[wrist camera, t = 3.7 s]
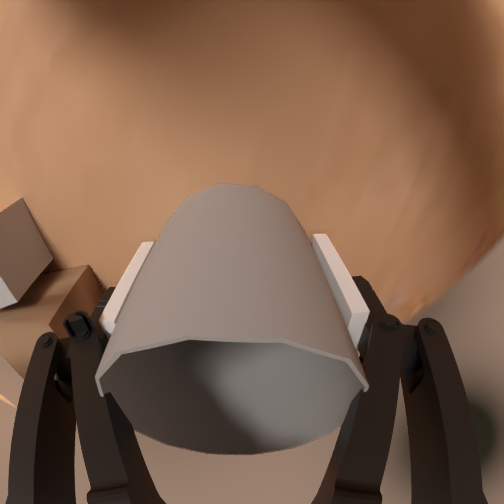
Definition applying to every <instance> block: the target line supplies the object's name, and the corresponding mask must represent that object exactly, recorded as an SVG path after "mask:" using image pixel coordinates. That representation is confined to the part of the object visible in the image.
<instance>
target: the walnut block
mask: <svg viewBox="0 0 504 504" xmlns="http://www.w3.org/2000/svg"><path fill="white" fill-rule="evenodd" d="M102 295H103V291H102V289H101V287H100V285H99V284H98V282H97V280H96V278H95V276H94V274H93V272H92V270H91V268H90V266H89V265H84V266H80V267H75V268H70V269H66V270H61V271H57V272H52V273H48V274H43V275H39V276H38V277H37V278H36V279H35V281H34V282H33V283H32V284H31V286H30V287H29V288H28V289H27V291H26V292H25V293H24V294H23V296H22V297H21V298H20V300H19V301H18V302H17V303H14V304H11V305H8V306H6V307H3V308H0V353H1V354H2V355H3V357H4V358H5V359H6V360H7V361H8V362H9V364H11V366H12V367H13V368H14V369H15V370H16V371H17V372H18V373H19V375H20V376H21V377H22V378H23V379H25V375H26V372H27V368H28V365H29V362H30V359H31V356H32V353H33V350H34V347H35V344H36V342H37V340H38V338H39V337H40V336H41V335H42V334H44V333H46V332H54V333H55V334H56V335H57V336H58V338H59V339H62V338H67V337H70V336H69V335H68V333H67V331H66V329H65V328H64V326H63V322H64V319H65V318H66V317H67V316H68V315H69V314H70V313H72V312H75V311H79V310H82V311H85V312H87V313H88V315H89V317H90V316H91V314H92V312H93V311H94V309H95V307H96V305H97V303H98V302H99V301H100V298H101V296H102ZM55 378H56V375H55ZM55 378H54V380H55Z"/></svg>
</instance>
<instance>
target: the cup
mask: <svg viewBox="0 0 504 504" xmlns="http://www.w3.org/2000/svg"><path fill="white" fill-rule="evenodd" d="M95 380H96V383H97V387H98V390H99V393H100V396H102V397H104V395H105V393H109V392H111V394H112V395H113V397H114V399H115V400H116V402H117V403H118V405H119V406H120V408H121V409H122V411H123V412H124V414H125V415H126V417H127V418H128V420H129V421H130V422H131V424H132V427H133V430H135V431H137V432H139V433H141V434H143V435H145V436H148V437H149V438H152V439H154V440H156V441H159V442H161V443H163V444H165V445H169V446H173V447H177V448H181V449H186V450H190V451H195V452H200V453H205V454H219V455H255V454H263V453H269V452H275V451H280V450H286V449H291V448H295V447H298V446H301V445H303V444H306V443H309V442H311V441H314V440H316V439H319V438H321V437H323V436H326V435H328V434H331V433H332V432H333V431H335V430H336V429H337V428H339V427H340V426H341V425H342V423H343V421H344V419H345V416H346V414H347V412H348V409H349V407H350V404H351V401H352V400H353V399H354V397H355V396H356V395H357V394H358V392H359V391H360V390H361V388H362V389H363V392H366V391H367V390H368V388H369V384H368V381H367V379H366V376H365V373H364V370H363V368H362V365H361V362H360V360H359V357H358V354H357V352H356V349H355V347H354V344H353V342H352V339H351V336H350V334H349V331H348V329H347V326H346V324H345V322H344V319H343V317H342V314H341V312H340V309H339V307H338V305H337V302H336V300H335V298H334V295H333V293H332V291H331V288H330V286H329V284H328V281H327V279H326V277H325V274H324V272H323V270H322V268H321V266H320V263H319V261H318V259H317V257H316V255H315V252H314V250H313V248H312V246H311V244H310V242H309V239H308V237H307V235H306V233H305V231H304V229H303V227H302V226H301V224H300V223H299V221H298V219H297V218H296V216H295V215H294V213H293V212H292V210H291V209H290V207H289V205H288V204H287V203H286V202H285V201H283V200H281V199H279V198H278V197H276V196H274V195H272V194H271V193H269V192H267V191H265V190H263V189H262V188H260V187H258V186H255V185H239V184H220V183H219V184H217V185H215V186H212V187H210V188H207V189H205V190H203V191H200V192H198V193H195V194H193V195H191V196H189V197H187V198H186V199H185V200H184V201H183V202H182V204H181V205H180V206H179V207H178V209H177V210H176V211H175V212H174V213H173V215H172V216H171V217H170V218H169V220H168V221H167V222H166V224H165V226H164V228H163V230H162V231H161V233H160V235H159V237H158V239H157V241H156V242H155V244H154V246H153V248H152V250H151V252H150V254H149V256H148V258H147V259H146V261H145V263H144V265H143V267H142V269H141V271H140V273H139V275H138V277H137V279H136V281H135V284H134V286H133V288H132V290H131V292H130V294H129V296H128V298H127V300H126V303H125V305H124V307H123V309H122V311H121V314H120V316H119V318H118V320H117V323H116V325H115V327H114V330H113V332H112V335H111V337H110V339H109V342H108V344H107V347H106V349H105V352H104V354H103V357H102V359H101V362H100V365H99V367H98V370H97V373H96V375H95Z"/></svg>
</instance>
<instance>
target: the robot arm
mask: <svg viewBox="0 0 504 504" xmlns="http://www.w3.org/2000/svg"><path fill="white" fill-rule="evenodd" d="M154 244H155V242H154V241H152V242H142V244H141V245H140V247H139V249H138V250H137V252H136V254H135V255H134V257H133V259H132V260H131V262H130V264H129V265H128V267H127V269H126V271H125V272H124V274H123V276H122V278H121V279H120V281H119V283H118V285H117V287H110V288H108V289H107V290H106V291H105V292H104V293H103V295H102V296H101V298H100V301H99V302H98V303H97V305H96V307H95V309H94V311H93V312H92V314H91V316H90V317H89V315H88V313H87V312H85V311H82V310H79V311H75V312H72V313H70V314H69V315H68V316H67V317H66V318H65V319H64V322H63V326H64V328H65V329H66V331H67V333H68V335H69V336H70V337H67V338H62V339H59V338H58V336H57V335H56V334H55V333H54V332H46V333H44V334H42V335H41V336H40V337H39V338H38V340H37V342H36V344H35V347H34V350H33V353H32V356H31V359H30V362H29V365H28V368H27V372H26V375H25V379H24V383H23V386H22V390H21V394H20V398H19V403H18V407H17V412H16V417H15V423H14V430H13V436H12V443H11V452H10V463H9V481H8V497H7V500H6V504H76V497H75V474H74V456H75V432H76V421H77V427H78V433H79V439H80V444H81V449H82V453H83V458H84V462H85V466H86V470H87V474H88V478H89V481H90V485H91V490H90V491H89V492H88V493H87V502H88V504H166V503H165V502H164V501H163V500H162V498H161V497H160V496H159V494H158V492H157V490H156V488H155V485H154V483H153V481H152V478H151V476H150V474H149V471H148V469H147V466H146V464H145V461H144V458H143V456H142V453H141V450H140V448H139V445H138V442H137V439H136V436H135V433H134V430H133V427H132V424H131V422H130V421H129V420H128V418H127V417H126V415H125V414H124V412H123V411H122V409H121V408H120V406H119V405H118V403H117V402H116V400H115V399H114V397H113V395H112V394H111V392H109V393H105V395H104V397H102V396H100V393H99V390H98V387H97V383H96V380H95V375H96V373H97V370H98V367H99V365H100V362H101V359H102V357H103V354H104V352H105V349H106V347H107V344H108V342H109V339H110V337H111V335H112V332H113V330H114V327H115V325H116V323H117V320H118V318H119V316H120V314H121V311H122V309H123V307H124V305H125V303H126V300H127V298H128V296H129V294H130V292H131V290H132V288H133V286H134V284H135V281H136V279H137V277H138V275H139V273H140V271H141V269H142V267H143V265H144V263H145V261H146V259H147V258H148V256H149V254H150V252H151V250H152V248H153V246H154ZM312 248H313V250H314V252H315V255H316V257H317V259H318V261H319V263H320V266H321V268H322V270H323V272H324V274H325V277H326V279H327V281H328V284H329V286H330V288H331V291H332V293H333V295H334V298H335V300H336V302H337V305H338V307H339V309H340V312H341V314H342V317H343V319H344V322H345V324H346V326H347V329H348V331H349V334H350V336H351V339H352V342H353V344H354V347H355V349H356V350H357V347H358V350H359V352H360V357H359V360H360V362H361V365H362V368H363V370H364V373H365V376H366V379H367V381H368V384H369V388H368V390H367V391H366V392H363V389H362V388H361V390H360V391H359V392H358V394H357V395H356V396H355V397H354V399H353V400H352V401H351V404H350V407H349V409H348V412H347V414H346V416H345V419H344V421H343V423H342V426H341V430H340V433H339V436H338V439H337V442H336V445H335V449H334V451H333V454H332V457H331V460H330V462H329V465H328V468H327V470H326V473H325V476H324V478H323V481H322V483H321V486H320V488H319V491H318V493H317V495H316V497H315V498H314V500H313V501H312V503H311V504H381V503H382V495H381V493H380V485H381V482H382V477H383V474H384V470H385V466H386V462H387V458H388V453H389V449H390V444H391V439H392V433H393V427H394V421H395V415H396V407H397V400H398V390H399V380H400V377H401V383H402V389H403V395H404V402H405V409H406V416H407V425H408V434H409V445H410V459H411V484H412V499H411V500H412V501H411V504H488V503H487V500H486V498H485V495H484V493H483V490H482V476H481V467H480V459H479V452H478V446H477V440H476V434H475V429H474V425H473V420H472V416H471V411H470V407H469V404H468V400H467V396H466V393H465V389H464V386H463V383H462V379H461V376H460V373H459V370H458V367H457V364H456V361H455V358H454V355H453V352H452V350H451V347H450V344H449V342H448V339H447V336H446V334H445V332H444V329H443V327H442V325H441V324H440V323H439V322H438V321H436V320H434V319H432V318H423V319H421V320H420V321H419V323H418V325H417V326H412V325H404V324H401V322H400V321H399V319H398V318H396V317H395V316H393V315H390V314H387V312H386V311H385V309H384V307H383V305H382V304H381V302H380V300H379V299H378V297H377V295H376V294H375V292H374V290H372V287H371V285H370V284H369V282H368V281H367V280H366V279H364V278H363V277H362V276H354V277H351V276H350V274H349V272H348V270H347V269H346V267H345V265H344V263H343V262H342V260H341V258H340V257H339V255H338V253H337V251H336V250H335V248H334V246H333V245H332V243H331V241H330V240H329V238H328V236H327V235H326V234H313V241H312ZM55 375H56V378H55ZM54 378H55V380H54Z"/></svg>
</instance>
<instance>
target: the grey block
mask: <svg viewBox="0 0 504 504" xmlns="http://www.w3.org/2000/svg"><path fill="white" fill-rule="evenodd" d="M53 259H54V258H53V256H52V255H51V253H50V251H49V249H48V248H47V246H46V244H45V242H44V240H43V239H42V237H41V235H40V233H39V231H38V229H37V227H36V225H35V223H34V221H33V219H32V217H31V215H30V213H29V211H28V209H27V206H26V204H25V202H24V200H23V197H22V198H21V199H19V200H18V201H16V202H15V203H13V204H12V205H10V206H9V207H8V208H6V209H5V210H3V211H2V212H0V308H3V307H6V306H8V305H11V304H14V303H17V302H18V301H19V300H20V298H21V297H22V296H23V294H24V293H25V292H26V291H27V289H28V288H29V287H30V286H31V284H32V283H33V282H34V281H35V279H36V278H37V277H38V276H39V275H40V273H41V272H42V271H43V270H44V269H45V268H46V266H47V265H48V264H49V263H50V262H51V261H52V260H53Z"/></svg>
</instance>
